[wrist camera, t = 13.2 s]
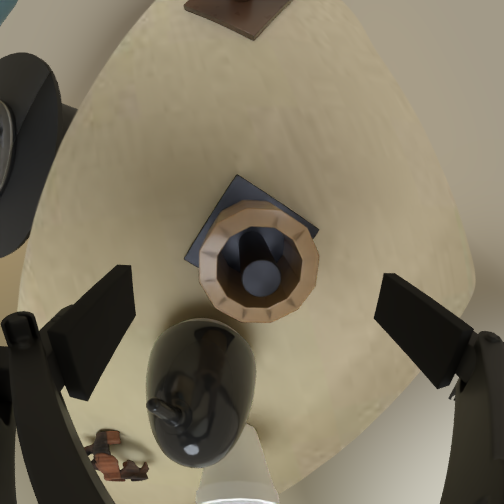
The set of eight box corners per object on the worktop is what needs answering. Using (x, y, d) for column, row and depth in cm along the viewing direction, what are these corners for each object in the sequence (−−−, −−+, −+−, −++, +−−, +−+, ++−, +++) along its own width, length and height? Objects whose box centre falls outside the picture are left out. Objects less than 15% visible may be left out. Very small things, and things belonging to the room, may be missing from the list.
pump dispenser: (230, 287, 27) (230, 397, 13) (266, 365, 30) (286, 478, 15) (142, 318, 28) (85, 422, 13) (185, 388, 30) (168, 495, 16)
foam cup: (220, 405, 31) (219, 491, 19) (281, 425, 33) (296, 503, 21) (190, 440, 33) (183, 514, 21) (245, 457, 35) (250, 525, 22)
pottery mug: (133, 426, 33) (144, 477, 27) (148, 438, 39) (158, 480, 33) (65, 429, 29) (72, 477, 23) (89, 442, 35) (96, 482, 29)
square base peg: (185, 256, 26) (160, 299, 17) (236, 174, 25) (239, 171, 15) (263, 302, 28) (278, 362, 18) (316, 227, 26) (360, 256, 17)
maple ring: (191, 258, 25) (177, 286, 19) (239, 182, 24) (241, 184, 17) (264, 301, 27) (274, 340, 20) (313, 232, 26) (340, 251, 19)
